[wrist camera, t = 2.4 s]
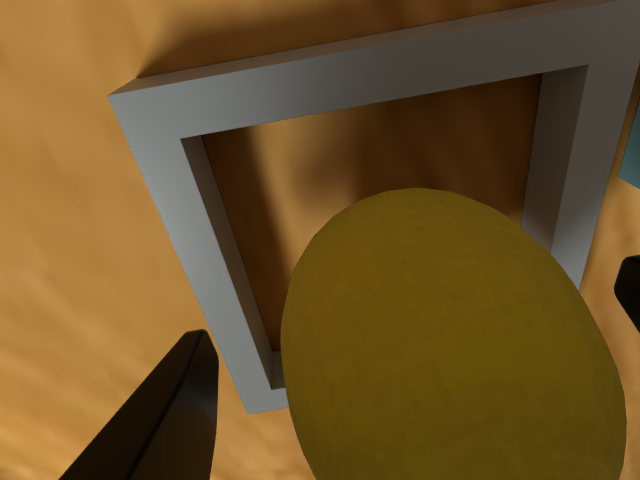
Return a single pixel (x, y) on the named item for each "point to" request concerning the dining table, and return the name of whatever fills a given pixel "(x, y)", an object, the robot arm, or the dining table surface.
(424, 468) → the lemon
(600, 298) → the dining table surface
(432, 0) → the dining table surface
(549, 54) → the holder
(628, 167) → the tile
